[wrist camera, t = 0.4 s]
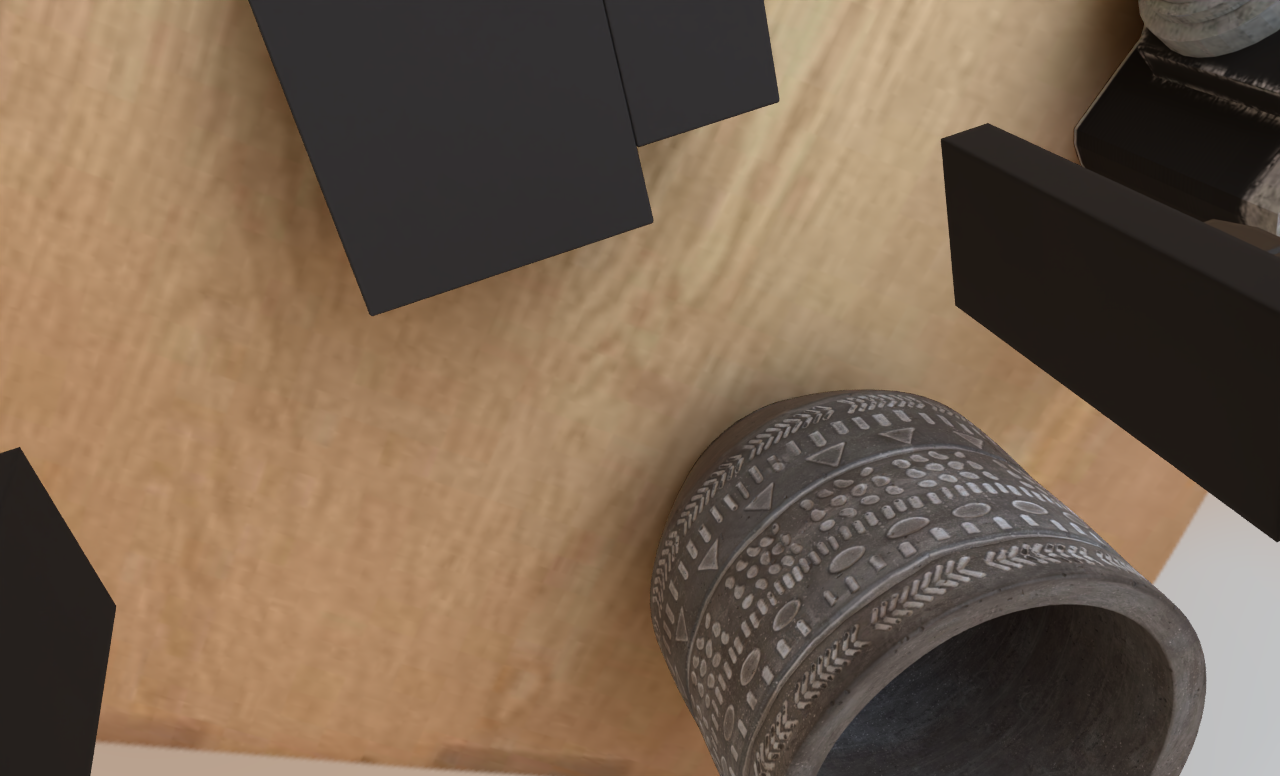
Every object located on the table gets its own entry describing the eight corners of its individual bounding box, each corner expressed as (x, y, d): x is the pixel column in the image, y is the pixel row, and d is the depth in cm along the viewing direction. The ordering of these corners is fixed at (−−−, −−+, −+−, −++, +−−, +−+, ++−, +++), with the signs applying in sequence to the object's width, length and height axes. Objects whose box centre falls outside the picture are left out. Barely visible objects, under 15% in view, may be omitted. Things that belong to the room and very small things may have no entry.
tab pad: (234, -68, 27) (233, -39, 22) (662, -186, 28) (735, -180, 24) (353, 243, 31) (370, 317, 27) (720, 125, 32) (792, 177, 28)
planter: (932, 610, 44) (1160, 886, 33) (621, 680, 41) (759, 1008, 30) (970, 316, 38) (1261, 530, 27) (611, 371, 35) (777, 637, 24)
